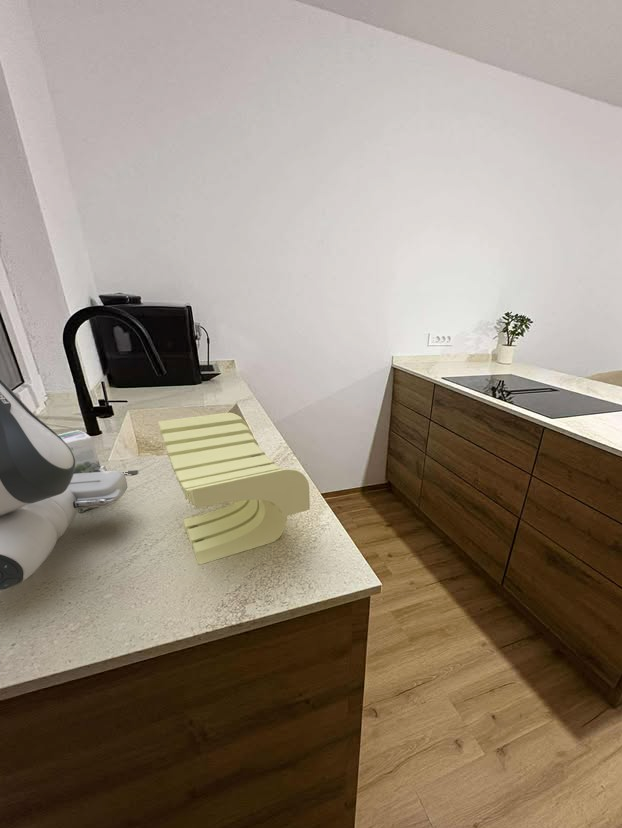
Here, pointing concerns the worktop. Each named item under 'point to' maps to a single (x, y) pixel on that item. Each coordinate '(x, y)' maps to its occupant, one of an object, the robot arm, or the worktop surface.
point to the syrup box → (81, 452)
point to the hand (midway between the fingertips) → (73, 471)
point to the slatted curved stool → (230, 485)
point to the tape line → (131, 472)
